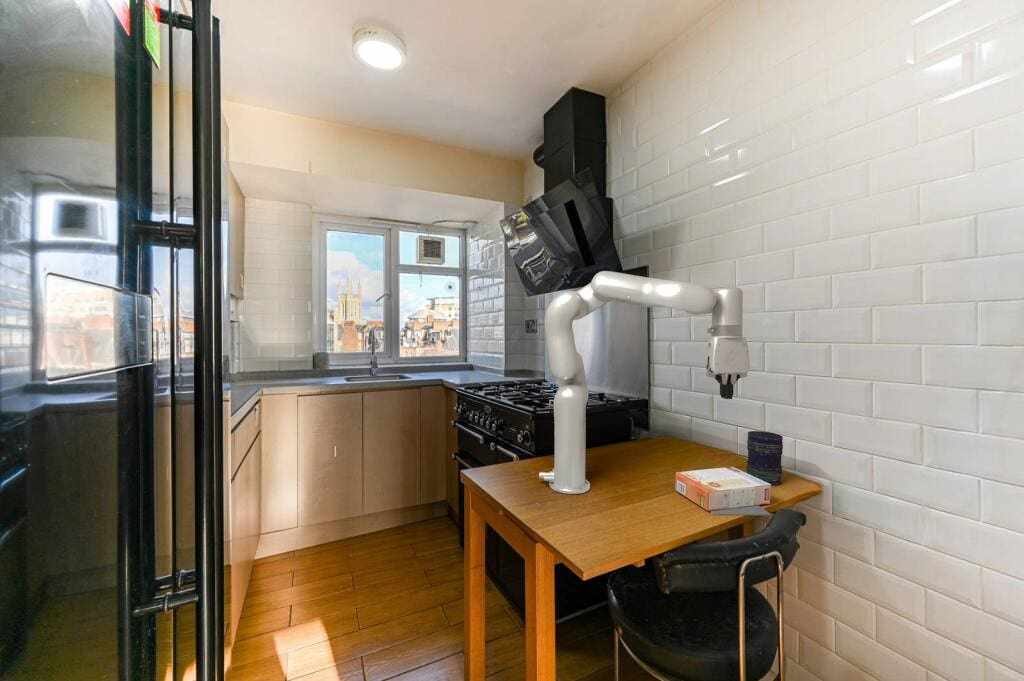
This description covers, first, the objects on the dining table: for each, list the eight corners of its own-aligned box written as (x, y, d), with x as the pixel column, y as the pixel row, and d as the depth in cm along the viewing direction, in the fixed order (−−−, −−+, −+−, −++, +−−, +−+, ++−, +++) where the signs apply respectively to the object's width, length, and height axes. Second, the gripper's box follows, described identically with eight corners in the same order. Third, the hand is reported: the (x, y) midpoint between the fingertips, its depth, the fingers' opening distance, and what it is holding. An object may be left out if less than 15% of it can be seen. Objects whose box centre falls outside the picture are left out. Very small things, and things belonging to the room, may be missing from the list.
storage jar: (743, 473, 137) (744, 429, 136) (776, 477, 134) (778, 432, 133) (749, 483, 127) (751, 437, 127) (786, 488, 124) (787, 440, 124)
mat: (713, 514, 106) (713, 513, 106) (690, 493, 120) (690, 491, 120) (770, 515, 106) (770, 514, 106) (740, 493, 120) (740, 492, 120)
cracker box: (707, 513, 107) (771, 504, 112) (707, 490, 106) (772, 483, 111) (674, 491, 120) (733, 484, 125) (674, 471, 120) (733, 465, 125)
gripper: (706, 332, 108) (705, 400, 108) (762, 332, 107) (761, 400, 108) (693, 332, 115) (693, 396, 116) (746, 332, 115) (745, 395, 115)
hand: (726, 398), depth 112 cm, fingers closed
